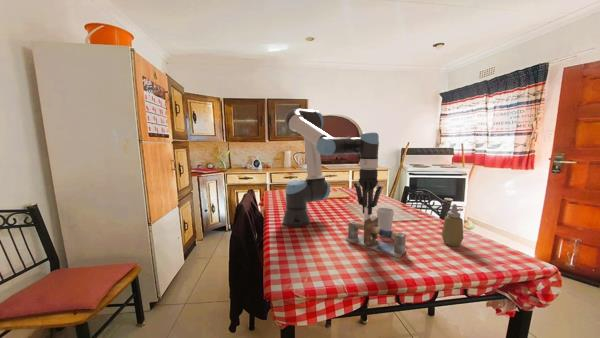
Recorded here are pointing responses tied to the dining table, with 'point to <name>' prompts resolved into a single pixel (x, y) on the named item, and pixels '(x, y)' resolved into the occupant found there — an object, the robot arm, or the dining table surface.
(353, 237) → the rail
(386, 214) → the cup
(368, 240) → the collar
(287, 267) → the dining table surface
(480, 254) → the dining table surface
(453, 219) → the squeeze bottle
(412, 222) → the dining table surface
